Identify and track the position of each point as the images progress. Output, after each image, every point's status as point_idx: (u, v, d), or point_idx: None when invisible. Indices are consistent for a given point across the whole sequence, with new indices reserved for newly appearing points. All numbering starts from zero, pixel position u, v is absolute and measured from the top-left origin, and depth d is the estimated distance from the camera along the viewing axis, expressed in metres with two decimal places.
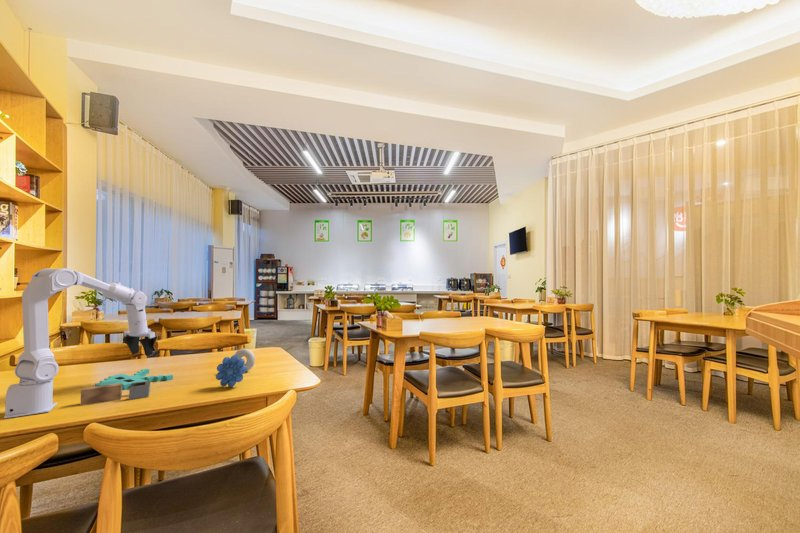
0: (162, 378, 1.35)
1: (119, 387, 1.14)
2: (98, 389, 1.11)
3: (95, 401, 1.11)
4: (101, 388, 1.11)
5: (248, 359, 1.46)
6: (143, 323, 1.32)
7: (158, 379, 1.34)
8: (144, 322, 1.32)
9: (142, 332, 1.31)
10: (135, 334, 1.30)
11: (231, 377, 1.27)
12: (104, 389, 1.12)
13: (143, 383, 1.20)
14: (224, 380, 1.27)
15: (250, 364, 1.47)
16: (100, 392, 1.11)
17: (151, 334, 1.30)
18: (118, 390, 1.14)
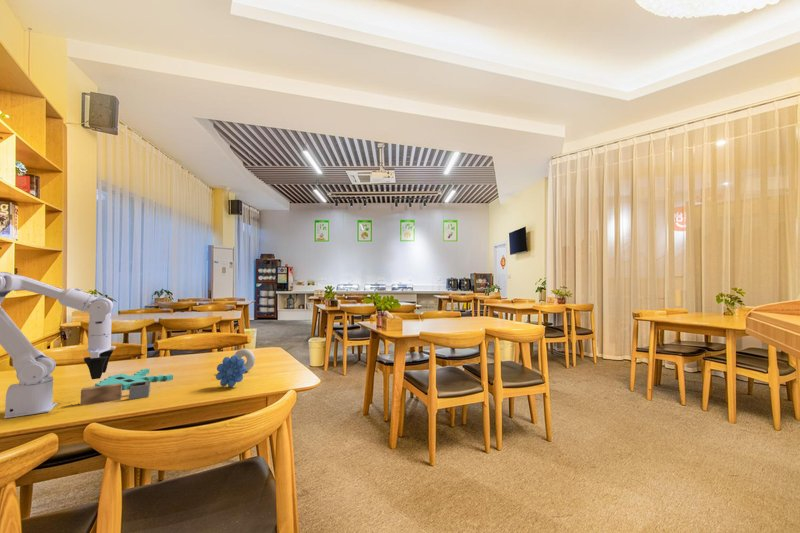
0: (162, 378, 1.35)
1: (119, 387, 1.14)
2: (98, 389, 1.11)
3: (95, 401, 1.11)
4: (101, 388, 1.11)
5: (248, 359, 1.46)
6: (99, 338, 1.10)
7: (158, 379, 1.34)
8: (100, 337, 1.10)
9: (95, 349, 1.10)
10: (88, 350, 1.09)
11: (231, 377, 1.27)
12: (104, 389, 1.12)
13: (143, 383, 1.20)
14: (224, 380, 1.27)
15: (250, 364, 1.47)
16: (100, 392, 1.11)
17: (92, 353, 1.06)
18: (118, 390, 1.14)
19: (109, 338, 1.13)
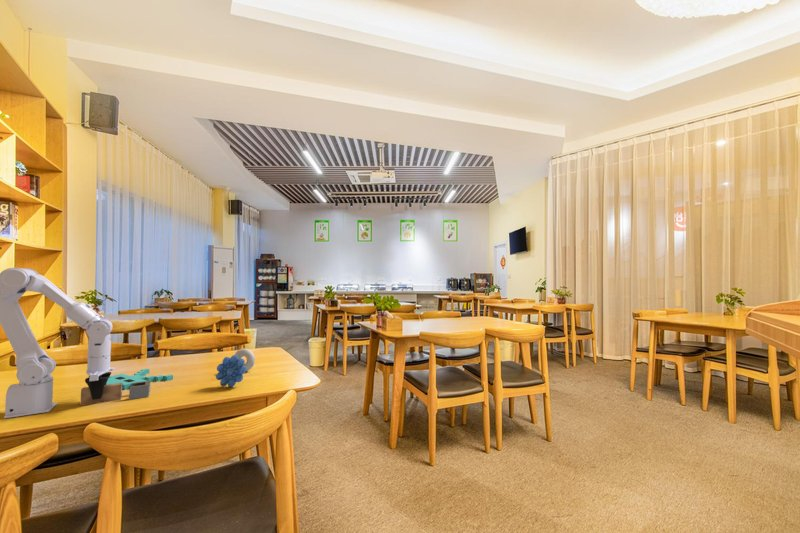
0: (162, 378, 1.35)
1: (119, 387, 1.14)
2: None
3: (95, 401, 1.11)
4: None
5: (248, 359, 1.46)
6: (98, 360, 1.10)
7: (158, 379, 1.34)
8: (100, 359, 1.10)
9: (94, 371, 1.09)
10: (87, 372, 1.09)
11: (231, 377, 1.27)
12: (104, 388, 1.12)
13: (143, 383, 1.20)
14: (224, 380, 1.27)
15: (250, 364, 1.47)
16: None
17: (92, 376, 1.06)
18: (118, 390, 1.14)
19: (108, 359, 1.13)
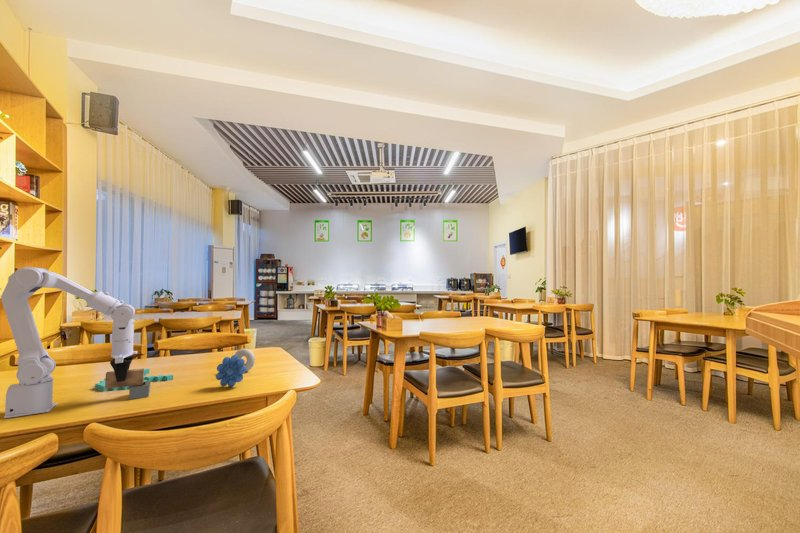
0: (162, 378, 1.35)
1: (142, 372, 1.17)
2: None
3: (119, 385, 1.14)
4: None
5: (248, 359, 1.46)
6: (122, 343, 1.13)
7: (158, 379, 1.34)
8: (124, 342, 1.14)
9: (118, 354, 1.13)
10: (112, 355, 1.13)
11: (231, 377, 1.27)
12: (127, 373, 1.15)
13: (143, 383, 1.20)
14: (224, 380, 1.27)
15: (250, 364, 1.47)
16: None
17: (117, 358, 1.09)
18: (140, 375, 1.17)
19: (132, 343, 1.16)
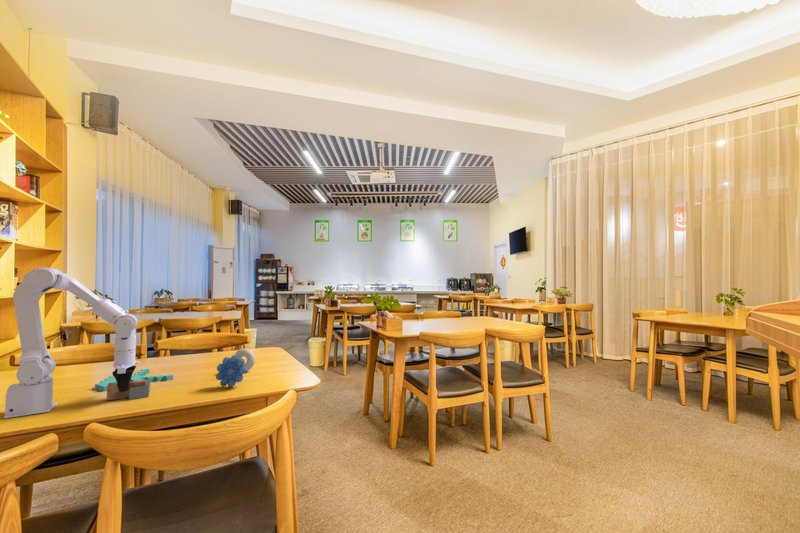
0: (162, 378, 1.35)
1: (143, 383, 1.17)
2: None
3: (120, 396, 1.14)
4: None
5: (248, 359, 1.46)
6: (124, 354, 1.14)
7: (158, 379, 1.34)
8: (126, 353, 1.14)
9: (121, 364, 1.13)
10: (114, 365, 1.13)
11: (231, 377, 1.27)
12: (129, 384, 1.15)
13: None
14: (224, 380, 1.27)
15: (250, 364, 1.47)
16: None
17: (119, 369, 1.09)
18: None
19: (134, 353, 1.16)
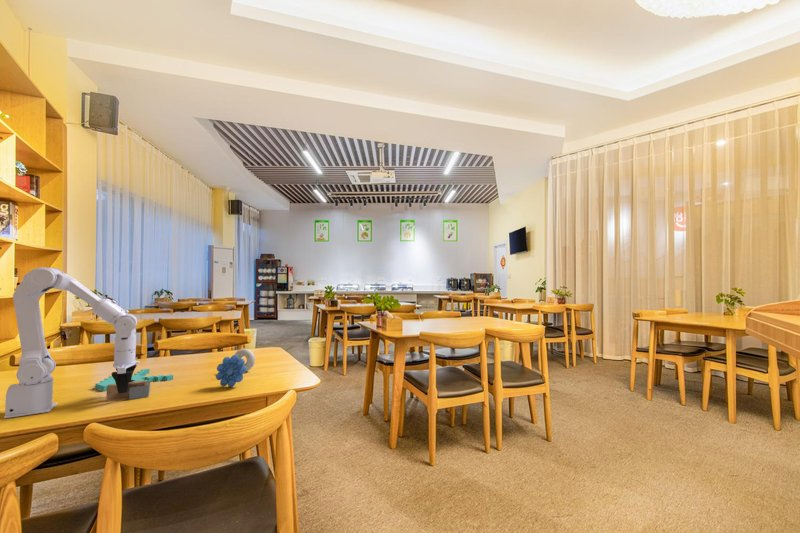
0: (162, 378, 1.35)
1: (143, 384, 1.17)
2: None
3: (120, 397, 1.14)
4: None
5: (248, 359, 1.46)
6: (124, 354, 1.14)
7: (158, 379, 1.34)
8: (126, 353, 1.14)
9: (121, 364, 1.13)
10: (114, 365, 1.13)
11: (231, 377, 1.27)
12: (128, 385, 1.15)
13: None
14: (224, 380, 1.27)
15: (250, 364, 1.47)
16: None
17: (119, 369, 1.09)
18: None
19: (134, 353, 1.16)
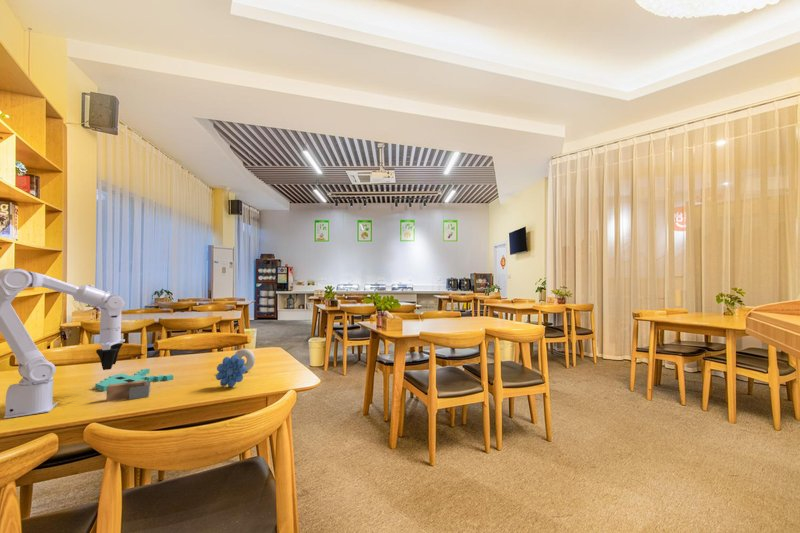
0: (162, 378, 1.35)
1: (143, 384, 1.17)
2: (123, 386, 1.14)
3: (120, 397, 1.14)
4: (126, 385, 1.15)
5: (248, 359, 1.46)
6: (109, 332, 1.18)
7: (158, 379, 1.34)
8: (111, 331, 1.18)
9: (106, 341, 1.17)
10: (99, 342, 1.17)
11: (231, 377, 1.27)
12: (128, 385, 1.15)
13: None
14: (224, 380, 1.27)
15: (250, 364, 1.47)
16: (125, 389, 1.15)
17: (104, 345, 1.13)
18: None
19: (119, 332, 1.20)
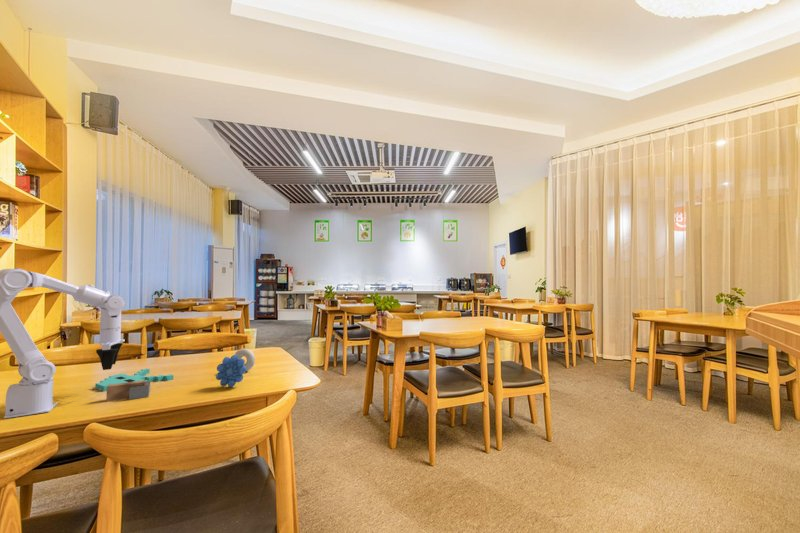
0: (162, 378, 1.35)
1: (143, 384, 1.17)
2: (123, 386, 1.14)
3: (120, 397, 1.14)
4: (126, 385, 1.15)
5: (248, 359, 1.46)
6: (109, 331, 1.18)
7: (158, 379, 1.34)
8: (111, 331, 1.18)
9: (106, 341, 1.17)
10: (99, 342, 1.17)
11: (231, 377, 1.27)
12: (128, 385, 1.15)
13: None
14: (224, 380, 1.27)
15: (250, 364, 1.47)
16: (125, 388, 1.15)
17: (104, 345, 1.14)
18: None
19: (119, 332, 1.20)
